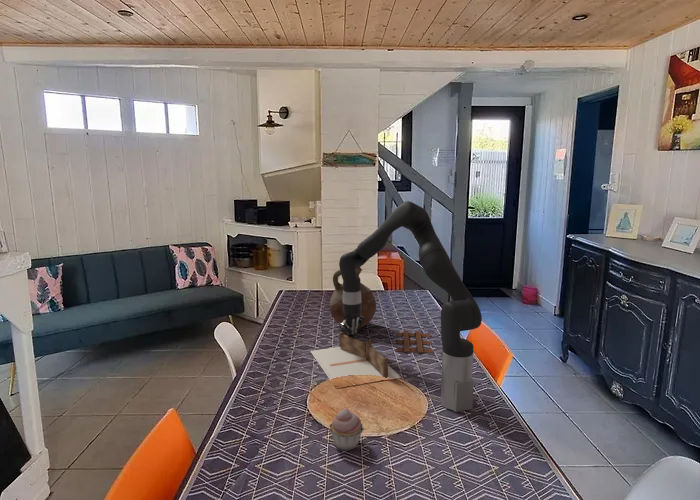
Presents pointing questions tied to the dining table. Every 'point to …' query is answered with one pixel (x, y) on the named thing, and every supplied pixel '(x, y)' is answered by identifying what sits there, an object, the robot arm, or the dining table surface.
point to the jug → (337, 301)
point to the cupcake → (346, 430)
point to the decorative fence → (413, 342)
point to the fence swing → (352, 344)
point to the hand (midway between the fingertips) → (352, 341)
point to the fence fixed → (376, 359)
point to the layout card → (346, 363)
